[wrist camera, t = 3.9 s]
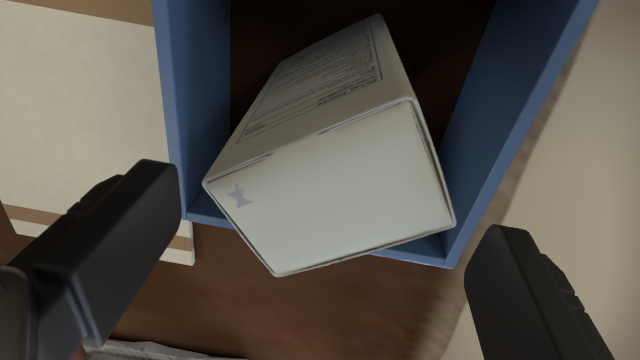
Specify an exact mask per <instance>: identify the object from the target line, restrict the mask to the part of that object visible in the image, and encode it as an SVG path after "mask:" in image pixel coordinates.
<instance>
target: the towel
mask: <svg viewBox="0 0 640 360" xmlns="http://www.w3.org/2000/svg"><path fill="white" fill-rule="evenodd" d="M144 158H145V159H151V160H156V161H161V162H167V163H169V154H168V145H167V136H166V127H165V119H164V110H163V101H162V92H161V83H160V74H159V66H158V57H157V48H156V39H155V30H154V21H153V13H152V4H151V0H0V200H1V202H2V205H3V207H4V209H5V211H6V213H7V215H8V218H9V219H10V221H11V223H12V225H13V227H14V229H15V232H16V233H17V234H22V235H27V236H33V237H38V236H39V235H40V234H42V233H43V232H44V231H45V230H46V229H47V228H48V227H49V226H50V225H52V224H53V223H54V222H55V221H56V220H57V219H58V218H59V217H60V216H62V215H63V214H66V213H67V210H68V209H69V208H70V207H72V206H73V205H74V204H75V203H76V202H80V198H82V197H83V196H84V195H85V194H86V193H87V192H88V191H89V190H90V189H92V188H93V187H94V186H95V185H96V184H98V183H100V182H102V181H104V180H106V179H108V178H110V177H112V176H115V175H117V174H120V175H125V174H126V173H127V172H128V171H129V170H130V169H131V168H132V167H133V166H134V165H135V164H136V163H137V162H138V161H139V160H141V159H144ZM159 260H164V261H169V262H175V263H180V264H185V265H191V266H192V265H193V264H194V262H195V255H194V241H193V230H192V221H188V220H181V222H180V226H179V228H178V231H177V233H176V235H175V236H174V238H173V239H172V241H171V242H170V244H169V245H168V247H167V248H166V250H165V251H164V253H163V255H162V256H161V258H160V259H159Z"/></svg>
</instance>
